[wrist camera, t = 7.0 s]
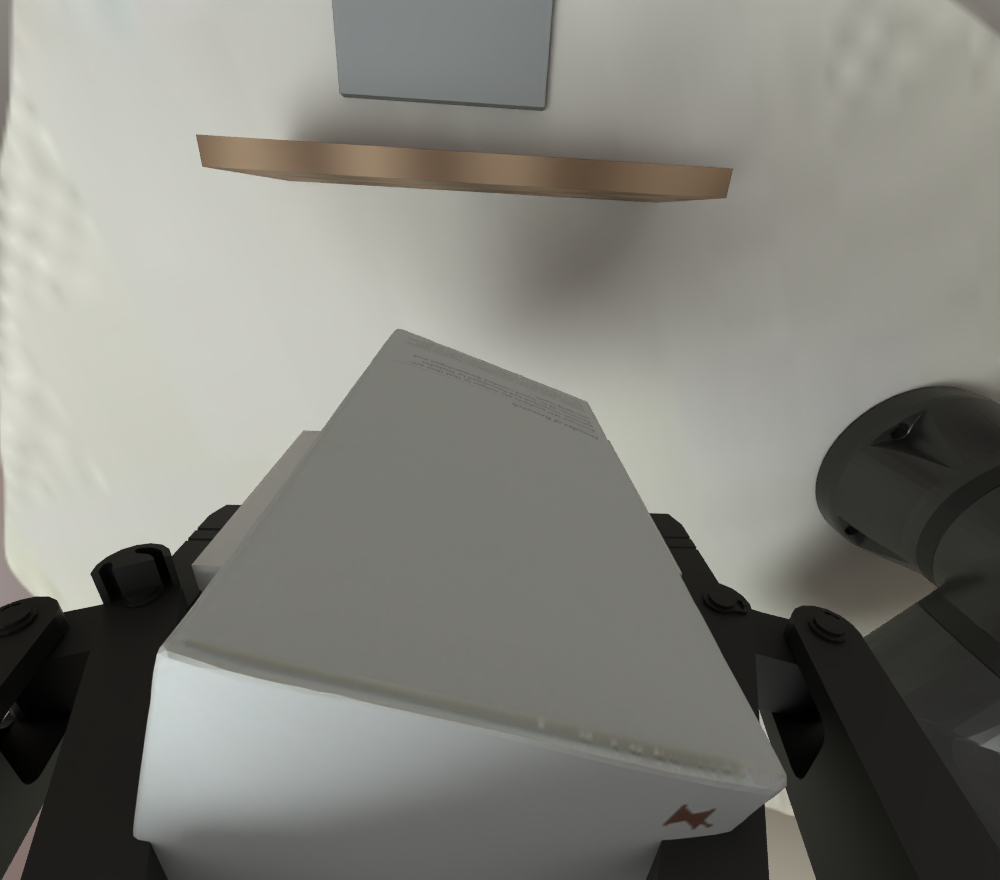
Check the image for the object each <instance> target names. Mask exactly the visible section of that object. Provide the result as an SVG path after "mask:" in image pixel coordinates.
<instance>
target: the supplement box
mask: <svg viewBox="0 0 1000 880" xmlns="http://www.w3.org/2000/svg"><path fill="white" fill-rule="evenodd" d="M786 786H787V775H786V773H785V771H784V769H783V767H782V765H781V763H780V761H779V759H778V757H777V755H776V753H775V751H774V750H773V748H772V746H771V744H770V742H769V740H768V738H767V736H766V735H765V733H764V731H763V729H762V727H761V725H760V723H759V721H758V720H757V718H756V716H755V714H754V712H753V710H752V708H751V707H750V705H749V703H748V701H747V699H746V697H745V695H744V694H743V692H742V690H741V688H740V686H739V684H738V682H737V681H736V679H735V677H734V675H733V673H732V671H731V670H730V668H729V666H728V664H727V663H726V661H725V659H724V657H723V655H722V653H721V651H720V649H719V647H718V645H717V643H716V641H715V639H714V637H713V636H712V634H711V632H710V630H709V628H708V626H707V624H706V622H705V620H704V618H703V617H702V615H701V613H700V611H699V610H698V608H697V606H696V605H695V603H694V601H693V599H692V597H691V595H690V593H689V591H688V589H687V587H686V585H685V584H684V582H683V580H682V578H681V576H680V574H679V572H678V571H677V569H676V567H675V565H674V563H673V561H672V559H671V558H670V556H669V554H668V552H667V550H666V548H665V546H664V545H663V543H662V541H661V539H660V537H659V535H658V533H657V531H656V529H655V527H654V526H653V524H652V522H651V520H650V518H649V516H648V514H647V512H646V510H645V509H644V507H643V505H642V503H641V501H640V499H639V498H638V496H637V494H636V492H635V490H634V488H633V486H632V484H631V482H630V481H629V479H628V477H627V475H626V473H625V471H624V470H623V468H622V466H621V464H620V462H619V460H618V458H617V457H616V455H615V453H614V451H613V449H612V447H611V445H610V443H609V442H608V440H607V438H606V436H605V434H604V432H603V430H602V428H601V427H600V425H599V423H598V421H597V419H596V417H595V415H594V414H593V412H592V410H591V408H590V406H589V404H588V402H586V401H583V400H581V399H579V398H576V397H574V396H571V395H568V394H566V393H563V392H561V391H559V390H556V389H553V388H551V387H548V386H546V385H543V384H540V383H538V382H535V381H533V380H530V379H528V378H525V377H523V376H521V375H518V374H516V373H513V372H510V371H507V370H505V369H502V368H500V367H497V366H495V365H493V364H490V363H487V362H485V361H482V360H480V359H477V358H474V357H472V356H469V355H467V354H464V353H462V352H459V351H457V350H454V349H452V348H449V347H446V346H443V345H441V344H438V343H435V342H433V341H431V340H429V339H426V338H423V337H420V336H418V335H415V334H413V333H410V332H408V331H405V330H402V329H397V330H395V331H394V332H393V334H392V335H391V336H390V337H389V339H388V340H387V341H386V343H385V344H384V345H383V347H382V348H381V349H380V351H379V352H378V353H377V355H376V356H375V357H374V359H373V360H372V362H371V363H370V365H369V366H368V367H367V369H366V370H365V371H364V373H363V374H362V375H361V377H360V378H359V379H358V381H357V382H356V384H355V385H354V386H353V388H352V389H351V390H350V392H349V393H348V394H347V396H346V397H345V399H344V400H343V401H342V403H341V404H340V405H339V407H338V408H337V410H336V411H335V413H334V414H333V415H332V417H331V418H330V420H329V421H328V422H327V424H326V425H325V427H324V428H323V429H322V431H321V432H320V433H319V435H318V436H317V437H316V439H315V440H314V441H313V443H312V444H311V446H310V447H309V448H308V450H307V451H306V453H305V454H304V455H303V457H302V458H301V459H300V461H299V462H298V464H297V465H296V466H295V468H294V469H293V470H292V472H291V473H290V475H289V476H288V477H287V479H286V480H285V481H284V483H283V484H282V485H281V487H280V488H279V489H278V491H277V492H276V493H275V495H274V496H273V497H272V499H271V500H270V502H269V503H268V504H267V506H266V507H265V508H264V510H263V511H262V512H261V514H260V515H259V516H258V518H257V519H256V520H255V522H254V523H253V524H252V526H251V527H250V528H249V530H248V531H247V533H246V534H245V535H244V537H243V538H242V539H241V541H240V542H239V543H238V545H237V546H236V548H235V549H234V550H233V552H232V553H231V554H230V556H229V557H228V558H227V560H226V561H225V562H224V564H223V565H222V566H221V568H220V569H219V571H218V572H217V573H216V575H215V576H214V577H213V579H212V580H211V581H210V583H209V584H208V586H207V587H206V588H205V590H204V591H203V593H202V594H201V595H200V597H199V598H198V600H197V601H196V602H195V604H194V605H193V606H192V608H191V609H190V610H189V612H188V613H187V614H186V615H185V617H184V618H183V619H182V620H181V622H180V623H179V624H178V626H177V627H176V628H175V629H174V631H173V632H172V633H171V634H170V636H169V637H168V638H167V639H166V641H165V642H164V643H163V644H162V646H161V647H160V648H159V651H158V653H157V657H156V661H155V666H154V672H153V680H152V689H151V701H150V708H149V714H148V720H147V726H146V734H145V741H144V748H143V756H142V763H141V771H140V778H139V786H138V794H137V802H136V809H135V817H134V825H133V836H134V837H135V838H137V839H138V840H143V841H149V842H150V843H151V845H152V847H153V849H154V851H155V853H156V855H157V858H158V860H159V862H160V864H161V866H162V868H163V870H164V872H165V874H166V876H167V878H168V880H646V878H647V876H648V873H649V871H650V868H651V866H652V863H653V861H654V858H655V856H656V854H657V851H658V849H659V846H660V843H661V841H662V840H672V839H682V838H691V837H699V836H707V835H716V834H720V833H725V832H730V831H732V830H733V829H734V828H735V827H736V826H738V825H739V824H740V823H742V822H743V821H744V820H745V819H746V818H747V817H748V816H750V815H751V814H752V813H753V812H754V811H756V810H757V809H758V808H759V807H760V806H762V805H763V804H764V803H766V802H767V801H768V800H770V799H771V798H773V797H774V796H776V795H777V794H778V793H779V792H780V791H782V790H783V789H784V788H785V787H786Z"/></svg>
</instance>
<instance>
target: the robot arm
mask: <svg viewBox="0 0 1000 880" xmlns="http://www.w3.org/2000/svg"><path fill="white" fill-rule="evenodd" d="M320 432H321V431H303V432H302V433H301V434H300V435H299V437H298V438H297V439H296V440H295V441H294V443H293V444H292V445H291V446H290V447H289V449H288V450H287V451H286V452H285V453H284V455H283V456H282V457H281V458H280V459H279V461H278V462H277V463H276V464H275V465H274V467H273V468H272V469H271V470H270V471H269V473H268V474H267V475H266V476H265V477H264V479H263V480H262V481H261V482H260V483H259V485H258V486H257V487H256V488H255V489H254V491H253V492H252V493H251V494H250V495H249V497H248V498H247V499H246V500H245V501H244V503H243V504H242V505H226V506H224V507H222V508H221V509H219V510H217V511H216V512H214V513H212V514H211V515H209V516H208V517H207V518H206V520H205V521H204V522H203V523H202V524H201V525H200V526H199V527H198V530H195V532H194V533H193V534H192V535H191V536H190V537H189V538H188V541H185V543H184V544H183V545H182V546H181V547H180V548H179V549H178V550H177V551H176V552H175V554H174V555H173V556H171V553H170V550H169V548H167V547H165V546H164V545H161V544H152V543H150V544H142V545H136V546H132V547H129V548H126V549H122V550H120V551H118V552H116V553H114V554H112V555H110V556H108V557H106V558H105V559H104V560H102V561H101V562H100V563H98V564H97V565H96V566H95V568H94V569H93V571H92V572H91V576H92V578H93V581H94V583H95V585H96V588H97V590H98V592H99V594H100V597H101V599H102V601H103V604H102V605H98V606H93V607H88V608H83V609H78V610H73V611H68V612H63V611H62V609H61V607H60V605H59V603H58V601H57V600H55V599H53V598H51V597H32V598H27V599H23V600H19V601H16V602H12V603H11V604H7V605H5V606H3V607H1V608H0V880H2V878H3V876H4V874H5V872H6V871H7V869H8V867H9V865H10V863H11V862H12V860H13V858H14V856H15V854H16V853H17V851H18V849H19V847H20V845H21V843H22V842H23V840H24V838H25V836H26V834H27V833H28V831H29V829H30V827H31V825H32V823H33V821H34V820H35V818H36V816H37V814H38V813H39V811H40V809H41V807H42V805H43V808H42V811H41V814H40V817H39V821H38V824H37V827H36V831H35V834H34V837H33V841H32V844H31V847H30V850H29V854H28V857H27V860H26V863H25V867H24V870H23V873H22V877H21V880H168V878H167V876H166V874H165V872H164V870H163V868H162V866H161V864H160V862H159V860H158V858H157V855H156V853H155V851H154V849H153V847H152V845H151V843H150V842H149V841H143V840H138V839H137V838H135V837H134V836H133V825H134V817H135V809H136V802H137V794H138V786H139V778H140V771H141V763H142V756H143V748H144V741H145V734H146V726H147V720H148V714H149V708H150V701H151V689H152V680H153V672H154V666H155V661H156V657H157V653H158V651H159V648H160V647H161V646H162V644H163V643H164V642H165V641H166V639H167V638H168V637H169V636H170V634H171V633H172V632H173V631H174V629H175V628H176V627H177V626H178V624H179V623H180V622H181V620H182V619H183V618H184V617H185V615H186V614H187V613H188V612H189V610H190V609H191V608H192V606H193V605H194V604H195V602H196V601H197V600H198V598H199V597H200V595H201V594H202V593H203V591H204V590H205V588H206V587H207V586H208V584H209V583H210V581H211V580H212V579H213V577H214V576H215V575H216V573H217V572H218V571H219V569H220V568H221V566H222V565H223V564H224V562H225V561H226V560H227V558H228V557H229V556H230V554H231V553H232V552H233V550H234V549H235V548H236V546H237V545H238V543H239V542H240V541H241V539H242V538H243V537H244V535H245V534H246V533H247V531H248V530H249V528H250V527H251V526H252V524H253V523H254V522H255V520H256V519H257V518H258V516H259V515H260V514H261V512H262V511H263V510H264V508H265V507H266V506H267V504H268V503H269V502H270V500H271V499H272V497H273V496H274V495H275V493H276V492H277V491H278V489H279V488H280V487H281V485H282V484H283V483H284V481H285V480H286V479H287V477H288V476H289V475H290V473H291V472H292V470H293V469H294V468H295V466H296V465H297V464H298V462H299V461H300V459H301V458H302V457H303V455H304V454H305V453H306V451H307V450H308V448H309V447H310V446H311V444H312V443H313V441H314V440H315V439H316V437H317V436H318V435H319V433H320ZM608 442H609V443H610V441H609V440H608ZM610 445H611V443H610ZM611 447H612V449H613V451H614V453H615V455H616V457H617V458H618V460H619V462H620V464H621V466H622V468H623V470H624V471H625V473H626V475H627V477H628V479H629V481H630V482H631V484H632V486H633V488H634V490H635V492H636V494H637V496H638V498H639V499H640V501H641V503H642V505H643V507H644V509H645V510H646V512H647V514H648V516H649V518H650V520H651V522H652V524H653V526H654V527H655V529H656V531H657V533H658V535H659V537H660V539H661V541H662V543H663V545H664V546H665V548H666V550H667V552H668V554H669V556H670V558H671V559H672V561H673V563H674V565H675V567H676V569H677V571H678V572H679V574H680V576H681V578H682V580H683V582H684V584H685V585H686V587H687V589H688V591H689V593H690V595H691V597H692V599H693V601H694V603H695V605H696V606H697V608H698V610H699V611H700V613H701V615H702V617H703V618H704V620H705V622H706V624H707V626H708V628H709V630H710V632H711V634H712V636H713V637H714V639H715V641H716V643H717V645H718V647H719V649H720V651H721V653H722V655H723V657H724V659H725V661H726V663H727V664H728V666H729V668H730V670H731V671H732V673H733V675H734V677H735V679H736V681H737V682H738V684H739V686H740V688H741V690H742V692H743V694H744V695H745V697H746V699H747V701H748V703H749V705H750V707H751V708H752V710H753V712H754V714H755V716H756V718H757V720H758V721H759V710H760V713H761V716H762V719H763V722H764V725H765V728H766V731H767V734H768V737H769V740H770V743H771V746H772V748H773V750H774V751H775V753H776V755H777V757H778V759H779V761H780V763H781V765H782V767H783V769H784V771H785V773H786V775H787V786H786V787H785V788H786V791H787V794H788V797H789V800H790V803H791V806H792V809H793V812H794V815H795V818H796V820H797V823H798V826H799V829H800V832H801V835H802V838H803V841H804V844H805V847H806V850H807V853H808V856H809V859H810V862H811V865H812V868H813V871H814V874H815V877H816V880H1000V404H998V403H996V402H994V401H992V400H990V399H987V398H984V397H982V396H979V395H976V394H974V393H971V392H968V391H965V390H962V389H958V388H952V387H931V388H924V389H919V390H914V391H911V392H907V393H904V394H901V395H899V396H896V397H894V398H892V399H889V400H887V401H885V402H883V403H881V404H880V405H878V406H876V407H875V408H873V409H871V410H870V411H868V412H867V413H865V414H864V415H863V416H861V417H860V418H859V419H858V420H856V421H855V422H854V423H853V424H852V425H851V426H850V427H849V428H848V429H847V430H846V431H845V432H844V433H843V434H842V435H841V436H840V437H839V438H838V439H837V441H836V442H835V443H834V445H833V446H832V447H831V449H830V451H829V452H828V454H827V455H826V457H825V459H824V461H823V463H822V466H821V468H820V471H819V474H818V478H817V483H816V499H817V504H818V508H819V510H820V512H821V514H822V516H823V517H824V519H825V520H826V521H827V522H828V523H829V524H830V525H831V526H832V527H833V528H834V529H836V530H837V531H838V532H839V533H840V534H841V535H842V536H843V537H844V538H846V539H847V540H848V541H850V542H851V543H853V544H855V545H856V546H858V547H861V548H863V549H865V550H867V551H870V552H872V553H874V554H877V555H879V556H881V557H884V558H886V559H888V560H890V561H893V562H895V563H897V564H900V565H902V566H904V567H907V568H909V569H911V570H914V571H916V572H918V573H920V574H922V575H923V576H924V577H926V578H927V579H928V580H929V581H931V582H932V583H933V584H934V585H935V586H937V587H938V588H937V589H936V590H935V591H933V592H932V593H930V594H929V595H927V596H926V597H924V598H923V599H921V600H920V601H918V603H915V604H914V605H912V606H911V607H909V608H908V609H906V610H905V611H903V612H902V613H900V614H899V615H897V616H896V617H894V618H893V619H891V620H889V621H888V622H886V623H885V624H883V625H882V626H880V627H879V628H877V629H876V630H874V631H873V632H871V633H870V634H868V635H867V636H865V637H864V638H863V637H862V635H861V634H860V633H859V632H858V630H857V629H856V628H855V627H854V626H853V625H852V624H851V623H849V622H848V621H847V620H845V619H844V618H843V617H841V616H839V615H837V614H835V613H833V612H831V611H829V610H827V609H823V608H820V607H816V606H800V607H798V608H795V609H794V611H793V613H792V615H791V617H790V619H786V618H782V617H778V616H774V615H770V614H766V613H762V612H759V611H756V610H753V609H751V606H750V604H749V603H748V602H747V600H746V599H745V598H744V597H743V596H742V595H741V594H739V593H738V592H736V591H735V590H733V589H732V588H729V587H727V586H725V585H722V584H719V583H718V581H717V579H716V578H715V576H714V575H713V573H712V572H711V570H710V568H709V567H708V565H707V564H706V562H705V561H704V559H703V557H702V556H701V554H700V553H699V551H698V550H696V546H695V545H694V543H693V542H692V540H691V539H690V537H689V535H688V534H687V532H686V531H685V529H684V527H683V526H682V524H680V523H679V522H678V521H676V520H675V519H674V518H673V517H671V516H670V515H669V514H653V513H649V512H648V510H647V508H646V507H645V505H644V503H643V501H642V499H641V497H640V496H639V494H638V492H637V490H636V488H635V487H634V485H633V483H632V481H631V479H630V477H629V476H628V474H627V472H626V470H625V468H624V466H623V465H622V463H621V461H620V459H619V457H618V456H617V454H616V452H615V450H614V448H613V446H612V445H611ZM8 711H9V713H8V714H7V716H6V717H5V715H6V713H7V712H8ZM4 717H5V718H4ZM3 719H4V720H3ZM759 723H760V722H759ZM646 880H769V870H768V853H767V838H766V820H765V804H763V805H762V806H760V807H759V808H758V809H757V810H756V811H754V812H753V813H752V814H751V815H750V816H748V817H747V818H746V819H745V820H744V821H743V822H742V823H740V824H739V825H738V826H736V827H735V828H734V829H733V830H732V831H730V832H725V833H720V834H716V835H707V836H699V837H691V838H682V839H672V840H662V841H661V843H660V846H659V849H658V851H657V854H656V856H655V858H654V861H653V863H652V866H651V868H650V871H649V873H648V876H647V878H646Z"/></svg>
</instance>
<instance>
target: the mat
mask: <svg viewBox="0 0 1000 880" xmlns="http://www.w3.org/2000/svg"><path fill="white" fill-rule="evenodd" d="M552 4H553V0H332V8H333V20H334V32H335V44H336V56H337V69H338V81H339V93H340V94H341V95H342V96H343V97H349V98H364V99H378V100H393V101H408V102H422V103H437V104H451V105H466V106H481V107H495V108H510V109H524V110H539V111H543V109H544V107H545V95H546V82H547V69H548V56H549V43H550V30H551V17H552Z"/></svg>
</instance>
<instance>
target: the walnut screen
mask: <svg viewBox="0 0 1000 880" xmlns="http://www.w3.org/2000/svg"><path fill="white" fill-rule="evenodd" d="M196 137H197V142H198V147H199V152H200V157H201V162H202V167H208V168H214V169H220V170H226V171H232V172H239V173H245V174H251V175H257V176H263V177H269V178H275V179H281V180H287V181H303V182H320V183H337V184H353V185H370V186H387V187H404V188H421V189H438V190H455V191H472V192H488V193H505V194H522V195H539V196H556V197H573V198H590V199H607V200H624V201H640V202H670V201H686V200H703V199H719V198H726V196H727V192H728V188H729V183H730V179H731V175H732V171H733V169H729V168H713V167H698V166H682V165H666V164H650V163H635V162H619V161H603V160H587V159H572V158H556V157H540V156H524V155H509V154H493V153H477V152H461V151H446V150H430V149H414V148H398V147H383V146H367V145H351V144H335V143H320V142H304V141H288V140H272V139H257V138H241V137H225V136H209V135H196Z"/></svg>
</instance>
